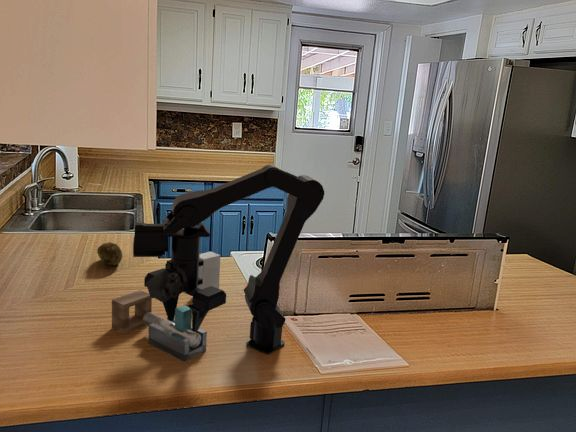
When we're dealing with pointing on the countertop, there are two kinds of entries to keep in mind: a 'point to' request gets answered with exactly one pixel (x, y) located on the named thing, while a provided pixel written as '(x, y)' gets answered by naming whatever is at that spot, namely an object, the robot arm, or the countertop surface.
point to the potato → (110, 253)
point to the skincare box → (209, 270)
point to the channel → (175, 342)
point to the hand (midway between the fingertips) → (182, 325)
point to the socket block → (121, 311)
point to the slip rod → (176, 324)
